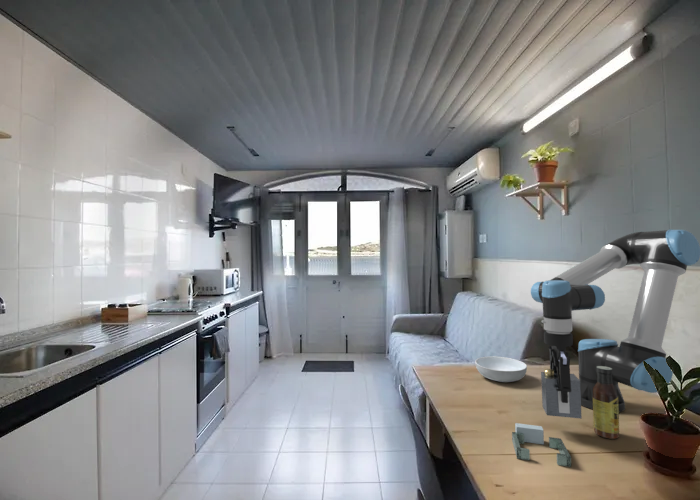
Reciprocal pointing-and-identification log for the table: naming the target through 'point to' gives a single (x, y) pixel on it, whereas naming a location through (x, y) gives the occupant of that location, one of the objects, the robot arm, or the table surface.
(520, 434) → the socket
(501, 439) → the table surface
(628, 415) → the table surface
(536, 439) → the light grey rectangular block
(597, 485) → the table surface
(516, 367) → the serving bowl
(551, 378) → the grey box with knob
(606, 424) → the sauce bottle
